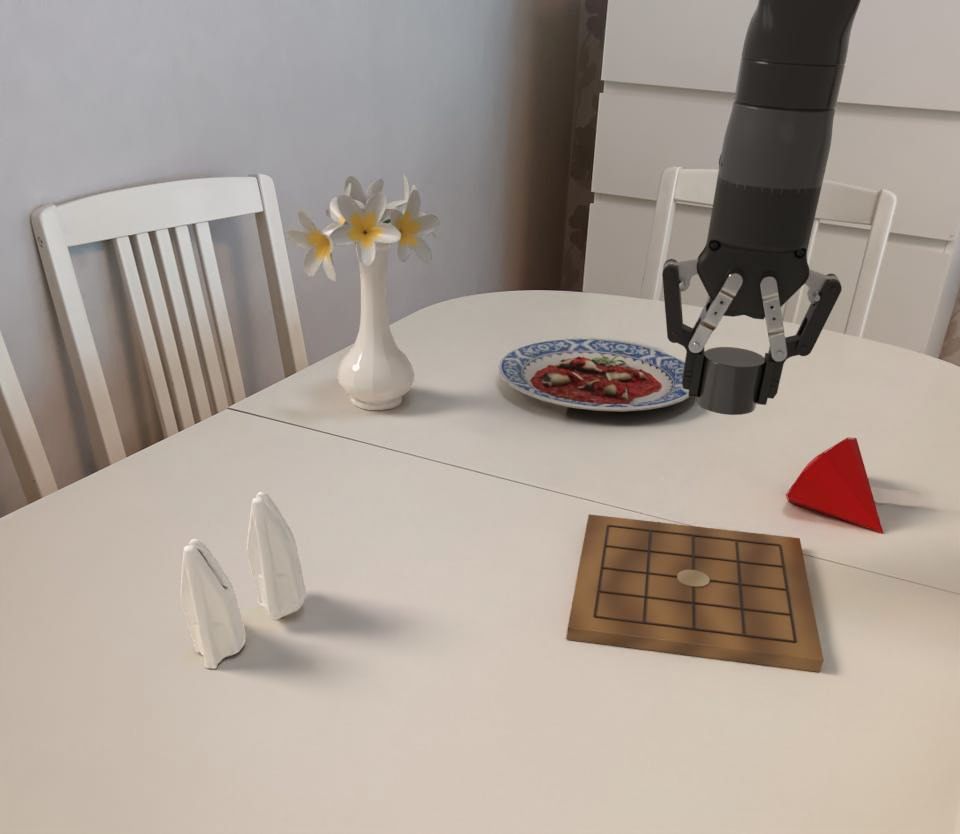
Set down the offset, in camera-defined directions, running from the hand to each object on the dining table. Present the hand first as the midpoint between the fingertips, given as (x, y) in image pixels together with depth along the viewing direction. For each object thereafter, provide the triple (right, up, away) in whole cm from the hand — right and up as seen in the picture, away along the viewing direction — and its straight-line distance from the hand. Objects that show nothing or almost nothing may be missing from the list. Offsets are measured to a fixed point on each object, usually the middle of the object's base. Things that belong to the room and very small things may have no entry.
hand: (727, 396), depth 81 cm
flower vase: (-33, +8, +38) cm, 51 cm away
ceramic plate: (-5, +12, +45) cm, 47 cm away
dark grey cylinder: (0, 0, 0) cm, 1 cm away
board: (-2, -16, +5) cm, 17 cm away
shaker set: (-39, -19, -2) cm, 44 cm away
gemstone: (+16, -7, +18) cm, 25 cm away
